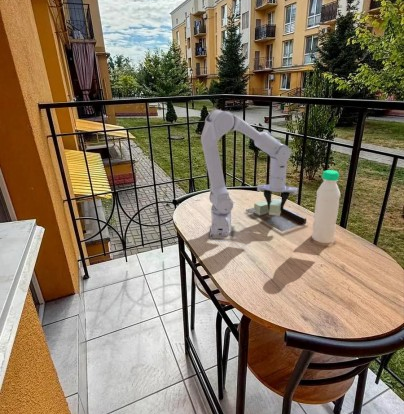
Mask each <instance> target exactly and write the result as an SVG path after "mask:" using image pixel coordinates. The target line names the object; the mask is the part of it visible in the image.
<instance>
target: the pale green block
mask: <svg viewBox="0 0 404 414" xmlns="http://www.w3.org/2000/svg"><path fill="white" fill-rule="evenodd" d="M281 203H282V198H271V203H270V211H269V215H276V216H280V213H281Z"/></svg>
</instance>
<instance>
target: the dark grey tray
mask: <svg viewBox="0 0 404 414" xmlns="http://www.w3.org/2000/svg"><path fill="white" fill-rule="evenodd" d="M253 210H254V207H251V208H248V209H245V211H246V212H248V213H250V214H251V215H253V216H254V217H257V218H258V219H259V220H261V221H263V222H265V223H267V224H268V225H270V226H271V227H273V228H276V230H278V231H280V232H284V231H285V232H286V231H288V230H291V229H294V228H297V227H300V226H302V225H305V224H307V218H306V217H305V216H303V215H300V214H298V213H297V212H294V211H292V210H290V209H288V208H286V207H285V206H284V207H283V211H281V213H280V216H276V215H269V213H266V214H263V215H260V216H259V215H258V214H256V213H254V212H253Z"/></svg>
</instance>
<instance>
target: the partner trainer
mask: <svg viewBox="0 0 404 414" xmlns="http://www.w3.org/2000/svg"><path fill="white" fill-rule="evenodd" d="M253 205H254V206H253V208H254V210H253V212H254V213H256V214H258V215H259V216H260V215H263V214H266V213H269V211H270V210H269V209H268V204H267V201H266V199H265V200H261V201H258V202H254V204H253Z"/></svg>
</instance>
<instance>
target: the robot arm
mask: <svg viewBox="0 0 404 414" xmlns="http://www.w3.org/2000/svg"><path fill="white" fill-rule="evenodd" d="M230 131H238V132H240V133H242V135H245V136H246V137H248V138H250V139H251V140H253V143H254V146H255V147H257V148H258V149H260V150H261V151H263V152H264V153H266V154H267V155H268V157H270V168H269V184H257V186H256V187H257V188H256V191H257V192H260V191H261V192H263V197H264V198H265V200H266V201H267V204H268V209H269V210H270V203H271V201H272V196H273V195H272V193H281V200H282V203H281V211H283V207H284V208H285V204H286V202H287V200H288V198H289V197H290V194H291V195H295V196H296V195H298V191H299V190H298V189H299V188H298V187H293V186H288V185H286V179H287V168H288V167H287V166H288V161H289V159H290V157H291V156H292V151H291V150H290V147H289V146H288V145H286V144H283V143H281V142H282V140H280V139H276V138H275V137H274V136H272V133H271V132H270V131H258V130H257V129H256V128H254V127H253V126H252V125H251V124H249V123H248V122H246V121H245V120H244V119H243V118H240V117H239V116H237V115H235V114H232V112H231V111H228V110H227V111H226V110H221V109H217V108H216V109H213V110H211V111H210V112H209V113H208V115H207V116H206V117H205V120H204V126H203V128H202V132H201V135H200V143H201V147H202V152H203V157H204V161H205V165H206V170H207V174H208V179H209V184H210V187H209V196H208V198H209V202H210V204H212V205H211V208H210V211H211V212H210V214H211V215H210V217H211V228H210V233H209V239H213V240H214V239H216V240H220V238H219V237H229V236H230V232H231V230H232V210H233V208H234V201H233V199H232V198H231V197H230V193H229V191H228V188H227V186H226V182H225V177H224V173H223V167H222V166H223V165H222V162H221V156H220V151H219V147H218V146H219V145H218V142H219V140H220V139H221V138H222V137H223V136H224V135H225V134H227V133H228V132H230ZM215 236H216V237H215ZM218 236H219V237H218Z"/></svg>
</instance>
